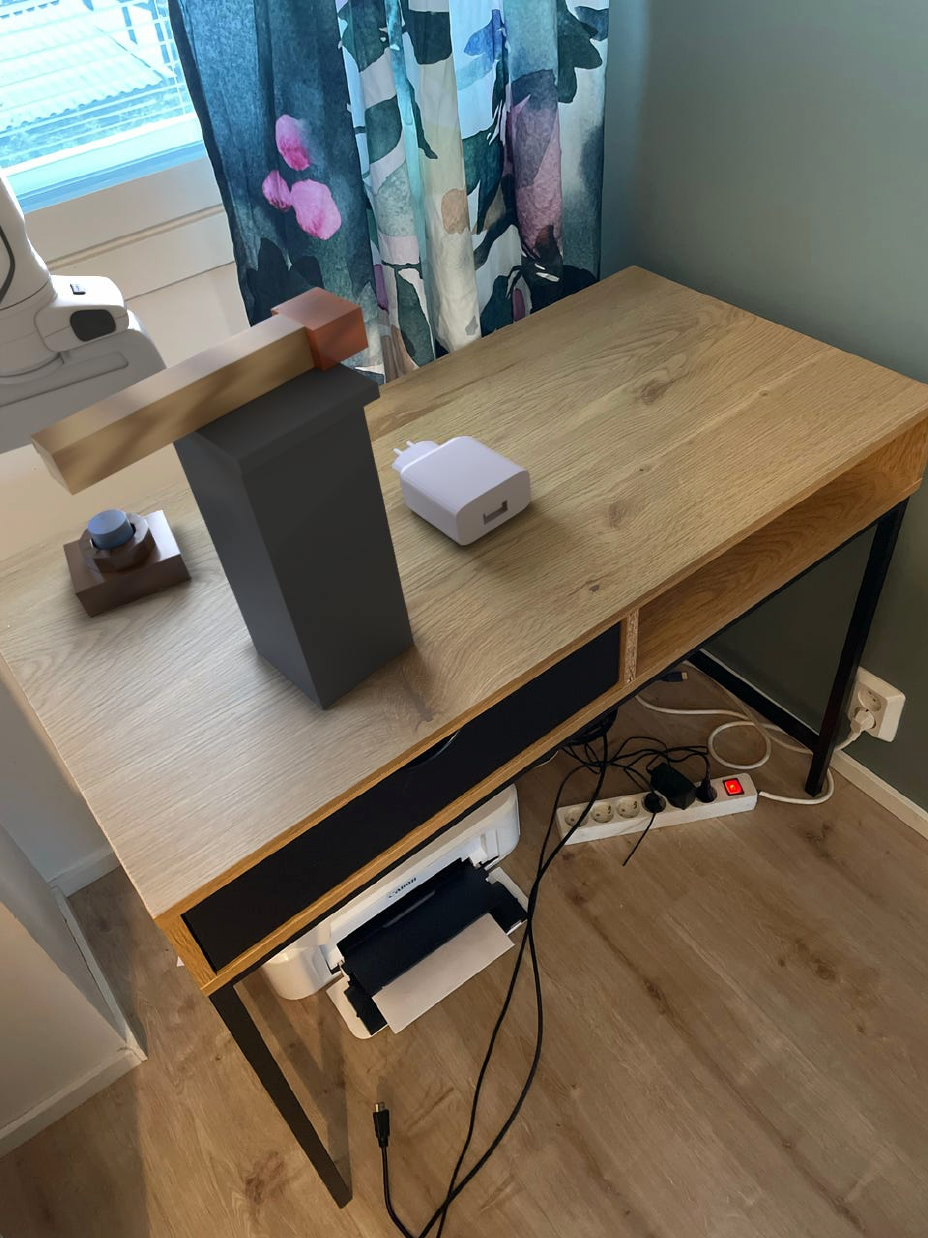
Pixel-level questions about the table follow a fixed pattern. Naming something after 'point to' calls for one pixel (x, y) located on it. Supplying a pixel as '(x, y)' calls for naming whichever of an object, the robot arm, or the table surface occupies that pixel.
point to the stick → (201, 389)
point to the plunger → (110, 529)
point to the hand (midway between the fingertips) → (82, 470)
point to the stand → (304, 529)
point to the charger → (461, 486)
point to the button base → (126, 565)
